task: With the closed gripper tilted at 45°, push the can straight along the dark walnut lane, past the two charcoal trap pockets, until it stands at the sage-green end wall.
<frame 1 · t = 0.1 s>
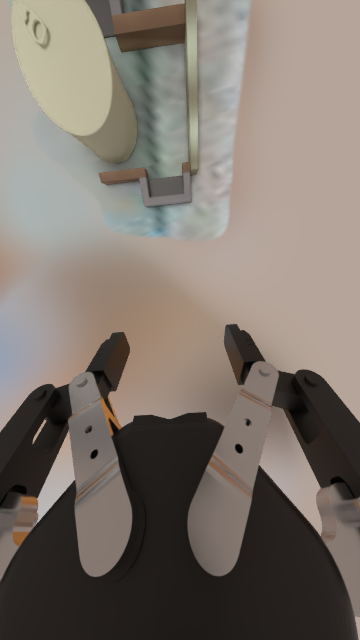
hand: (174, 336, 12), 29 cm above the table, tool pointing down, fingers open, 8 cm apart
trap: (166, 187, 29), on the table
can: (109, 124, 25), on the table
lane: (139, 119, 24), on the table
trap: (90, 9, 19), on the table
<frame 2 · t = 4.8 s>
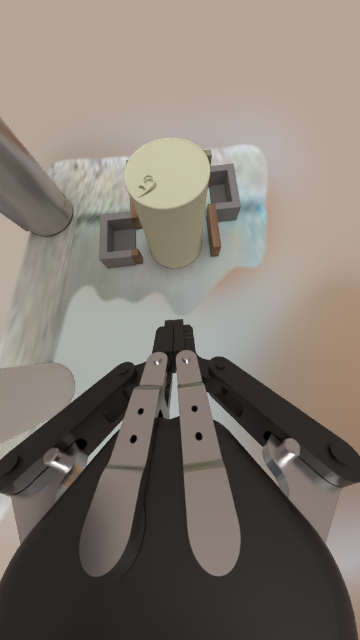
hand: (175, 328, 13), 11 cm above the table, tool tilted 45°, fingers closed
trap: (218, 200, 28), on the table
can: (175, 245, 27), on the table
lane: (173, 220, 28), on the table
pill bottle: (53, 387, 24), on the table
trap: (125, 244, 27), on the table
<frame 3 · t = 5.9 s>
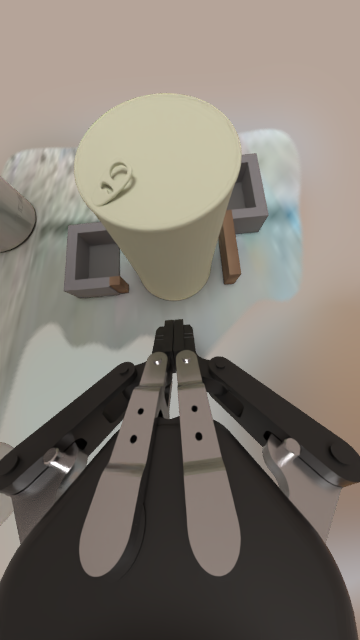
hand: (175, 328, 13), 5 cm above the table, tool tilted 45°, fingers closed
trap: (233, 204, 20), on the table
can: (174, 267, 20), on the table
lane: (172, 232, 20), on the table
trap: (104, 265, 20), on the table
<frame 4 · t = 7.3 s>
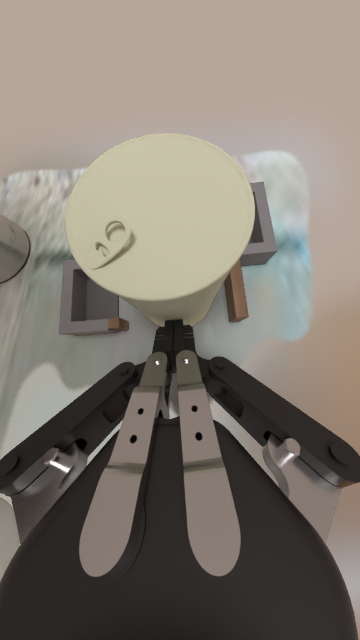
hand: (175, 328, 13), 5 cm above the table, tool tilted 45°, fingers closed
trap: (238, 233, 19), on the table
can: (176, 292, 19), on the table
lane: (173, 263, 19), on the table
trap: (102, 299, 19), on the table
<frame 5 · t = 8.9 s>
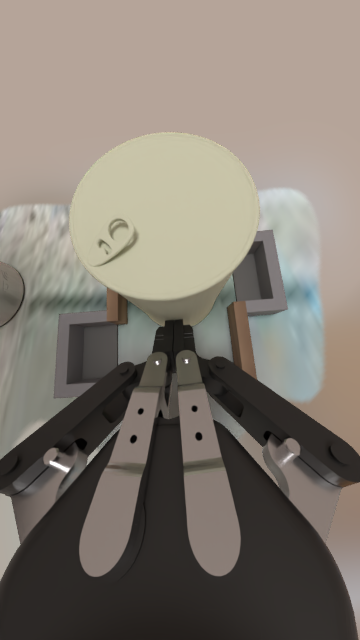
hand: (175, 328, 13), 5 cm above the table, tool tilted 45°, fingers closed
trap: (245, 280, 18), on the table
can: (177, 292, 19), on the table, touching gripper
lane: (176, 311, 18), on the table
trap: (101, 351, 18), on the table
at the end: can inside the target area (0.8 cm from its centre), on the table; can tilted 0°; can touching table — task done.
